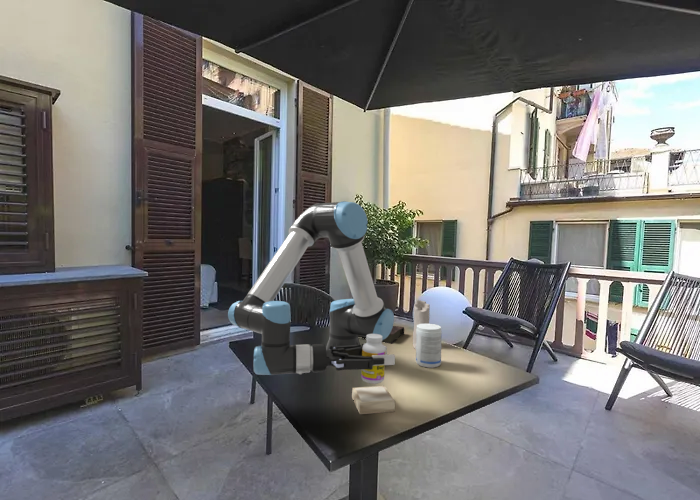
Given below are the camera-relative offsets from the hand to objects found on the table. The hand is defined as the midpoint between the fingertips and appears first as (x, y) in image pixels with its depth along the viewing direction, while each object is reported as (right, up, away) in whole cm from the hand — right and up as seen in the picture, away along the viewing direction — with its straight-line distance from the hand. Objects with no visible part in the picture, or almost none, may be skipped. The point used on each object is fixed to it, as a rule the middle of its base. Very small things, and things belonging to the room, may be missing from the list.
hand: (390, 355), depth 102 cm
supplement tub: (+18, -14, +33) cm, 40 cm away
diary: (0, -12, +70) cm, 71 cm away
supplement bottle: (-5, -7, -1) cm, 9 cm away
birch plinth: (-5, -14, 0) cm, 15 cm away
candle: (+20, -13, +54) cm, 59 cm away
